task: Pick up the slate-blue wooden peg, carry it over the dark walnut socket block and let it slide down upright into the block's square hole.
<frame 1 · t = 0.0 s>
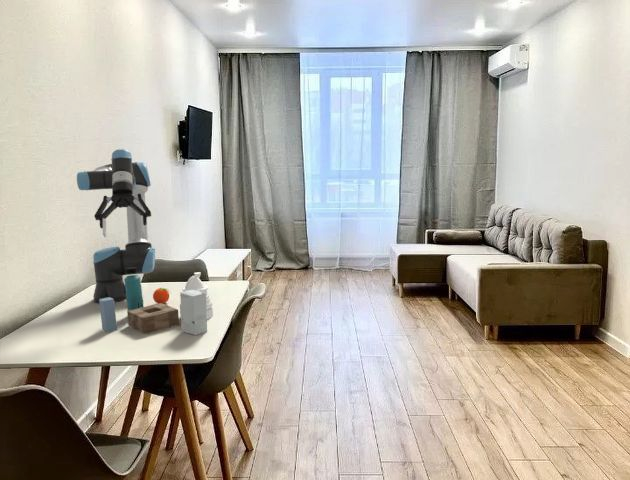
hand: (123, 234, 210), 36 cm above the table, tool tilted 35°, fingers open, 13 cm apart
beverage bottle: (136, 316, 230), on the table
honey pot: (197, 317, 225), on the table
socket block: (153, 325, 216), on the table
skincare box: (195, 332, 207), on the table
red tomato: (163, 304, 246), on the table
peg: (109, 329, 213), on the table
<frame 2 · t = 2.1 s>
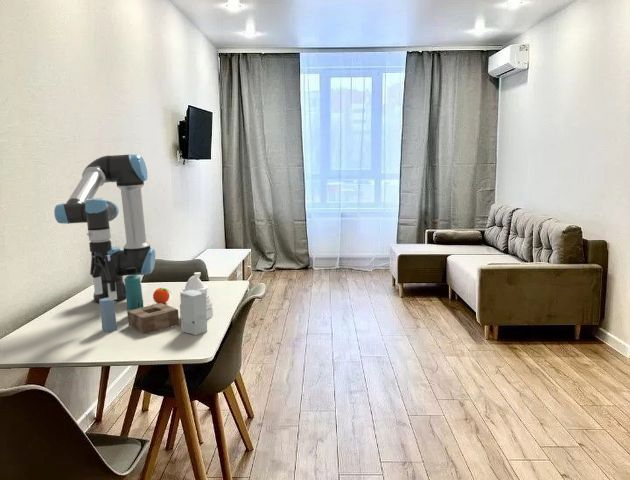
hand: (105, 297, 210), 13 cm above the table, tool pointing down, fingers open, 13 cm apart
nothing on the table moved.
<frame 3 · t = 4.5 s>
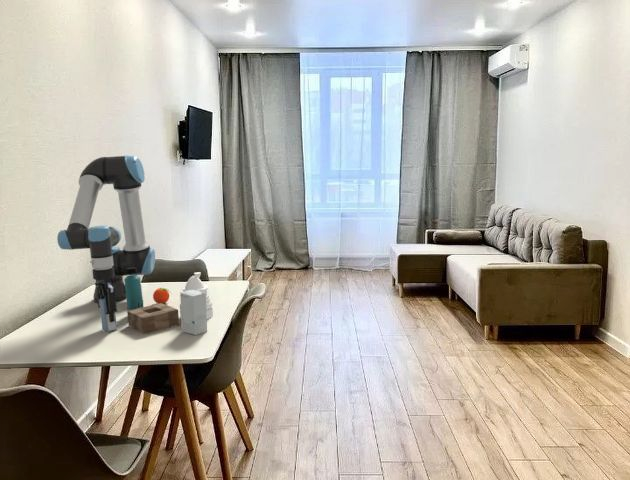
hand: (109, 328, 213), 1 cm above the table, tool pointing down, fingers closed on peg, 4 cm apart
peg: (109, 329, 213), on the table, touching gripper
everything else where it was.
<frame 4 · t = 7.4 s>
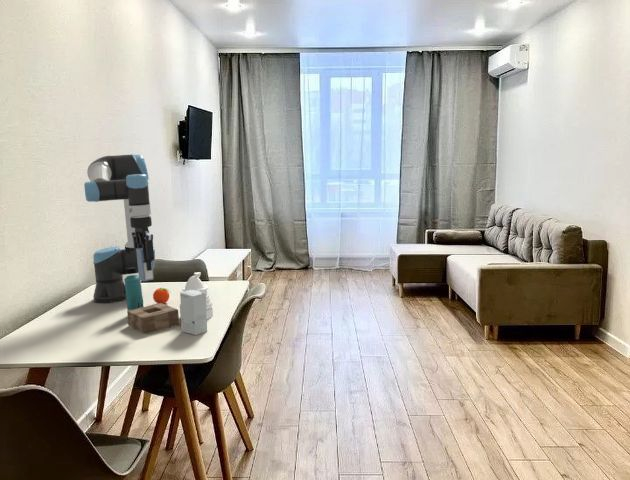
hand: (146, 277, 213), 19 cm above the table, tool pointing down, fingers closed on peg, 4 cm apart
peg: (146, 279, 213), point 18 cm above the table, touching gripper
everything else where it was.
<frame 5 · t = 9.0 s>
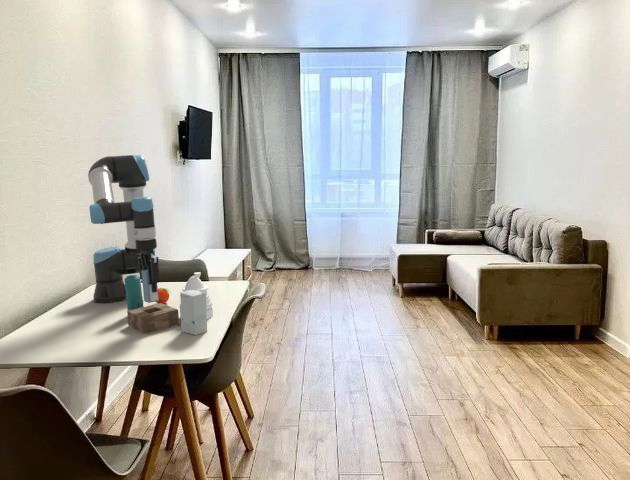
hand: (151, 299, 214), 10 cm above the table, tool pointing down, fingers closed on peg, 4 cm apart
peg: (151, 300, 214), point 10 cm above the table, touching gripper
everything else where it was.
when the fingers open (9 cm above the table, at t = 10.4 s): peg drops 8 cm, resting in socket block.
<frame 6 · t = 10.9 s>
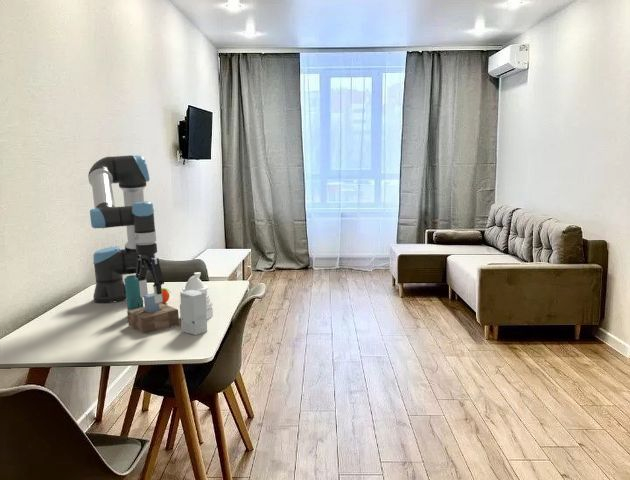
hand: (151, 299, 214), 10 cm above the table, tool pointing down, fingers open, 11 cm apart
peg: (153, 325, 216), resting in socket block
everything else where it was.
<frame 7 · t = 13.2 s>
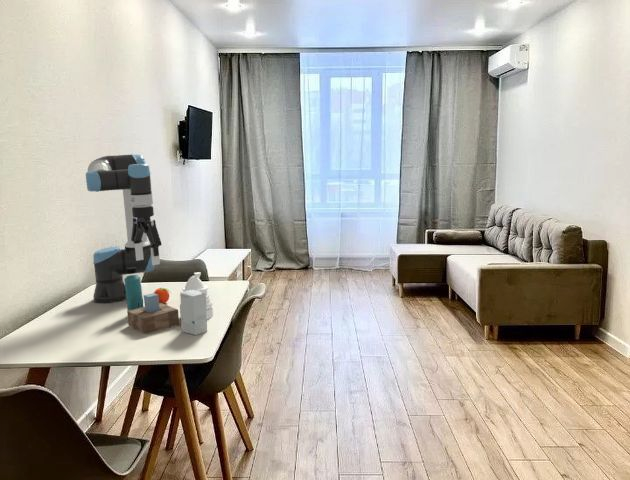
hand: (147, 262, 212), 25 cm above the table, tool pointing down, fingers open, 13 cm apart
nothing on the table moved.
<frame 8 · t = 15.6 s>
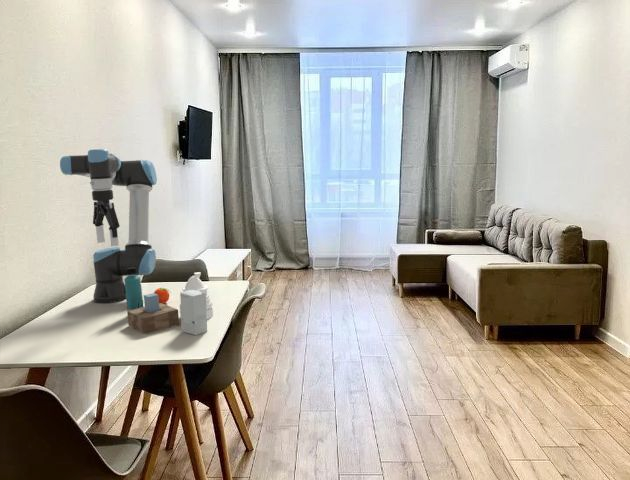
hand: (107, 244, 221), 31 cm above the table, tool pointing down, fingers open, 13 cm apart
nothing on the table moved.
at the end: peg 0.0 cm off-centre on the socket block, point 0.0 cm above the socket block's base; peg tilted 0°; the gripper is holding nothing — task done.
